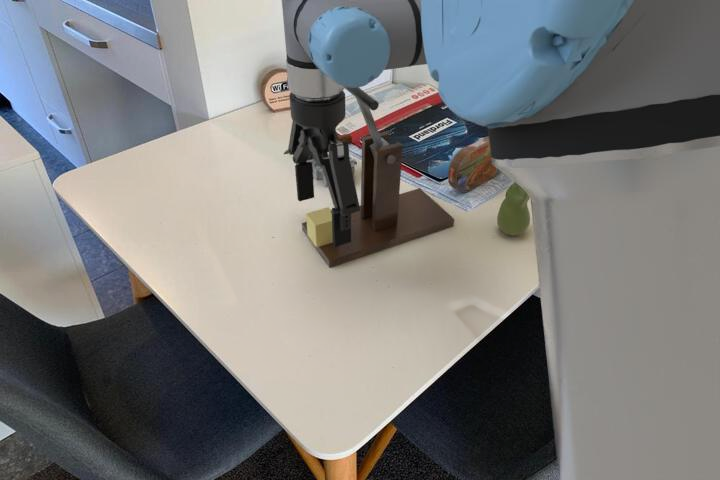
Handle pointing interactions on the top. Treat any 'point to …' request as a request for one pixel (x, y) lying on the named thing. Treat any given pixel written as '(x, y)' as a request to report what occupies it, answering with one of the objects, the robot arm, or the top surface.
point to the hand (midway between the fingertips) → (322, 219)
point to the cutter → (368, 115)
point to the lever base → (385, 208)
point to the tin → (472, 166)
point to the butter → (320, 227)
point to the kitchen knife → (340, 138)
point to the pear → (514, 211)
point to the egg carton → (319, 171)
